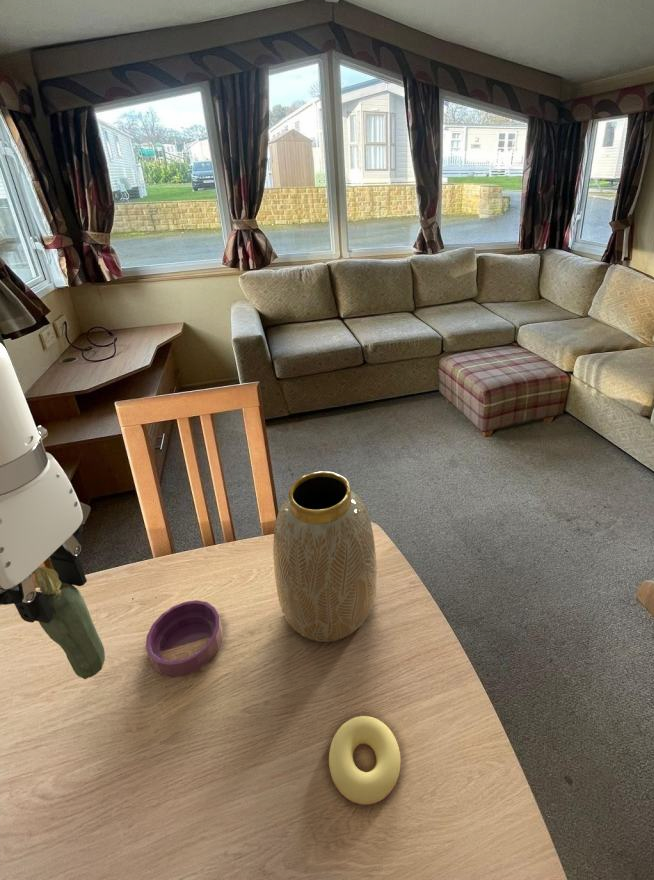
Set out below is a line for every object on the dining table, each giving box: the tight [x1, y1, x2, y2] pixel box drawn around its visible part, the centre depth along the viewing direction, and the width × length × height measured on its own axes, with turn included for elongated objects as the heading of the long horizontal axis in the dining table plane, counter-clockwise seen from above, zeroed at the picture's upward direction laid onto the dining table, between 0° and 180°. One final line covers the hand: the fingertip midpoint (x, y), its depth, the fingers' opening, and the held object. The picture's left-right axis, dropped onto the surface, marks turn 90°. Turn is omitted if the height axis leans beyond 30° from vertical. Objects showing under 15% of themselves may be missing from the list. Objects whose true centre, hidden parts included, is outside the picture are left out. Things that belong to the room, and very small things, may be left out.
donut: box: [328, 715, 401, 806], centre depth 65 cm, size 10×5×9 cm
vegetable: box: [32, 565, 106, 680], centre depth 55 cm, size 4×4×20 cm
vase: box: [272, 471, 378, 643], centre depth 81 cm, size 17×17×27 cm
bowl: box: [145, 599, 224, 678], centre depth 80 cm, size 11×11×4 cm
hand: (56, 598), depth 53 cm, fingers closed on vegetable, 4 cm apart
